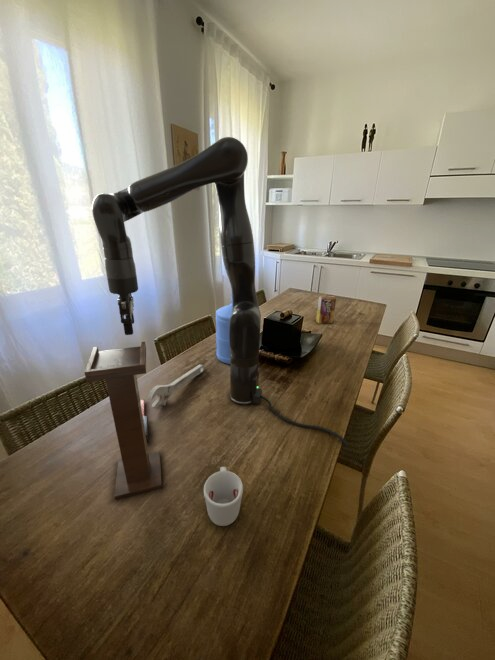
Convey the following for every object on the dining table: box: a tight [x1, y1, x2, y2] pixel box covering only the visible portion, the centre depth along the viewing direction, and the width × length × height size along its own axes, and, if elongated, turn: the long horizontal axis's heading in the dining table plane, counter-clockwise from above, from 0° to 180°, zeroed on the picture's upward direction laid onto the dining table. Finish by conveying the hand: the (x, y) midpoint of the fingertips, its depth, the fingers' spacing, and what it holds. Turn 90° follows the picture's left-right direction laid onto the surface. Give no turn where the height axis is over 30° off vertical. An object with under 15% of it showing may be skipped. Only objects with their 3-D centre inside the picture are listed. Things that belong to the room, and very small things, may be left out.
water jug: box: [215, 293, 233, 365], centre depth 117 cm, size 16×16×28 cm
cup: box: [203, 466, 244, 527], centre depth 60 cm, size 11×8×8 cm
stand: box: [83, 341, 163, 500], centre depth 61 cm, size 10×10×33 cm
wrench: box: [147, 364, 205, 409], centre depth 98 cm, size 8×2×30 cm
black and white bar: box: [140, 399, 149, 444], centre depth 83 cm, size 18×4×3 cm, turn 18°
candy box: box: [315, 295, 337, 324], centre depth 161 cm, size 9×4×15 cm, turn 99°
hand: (130, 328), depth 83 cm, fingers open, 8 cm apart
